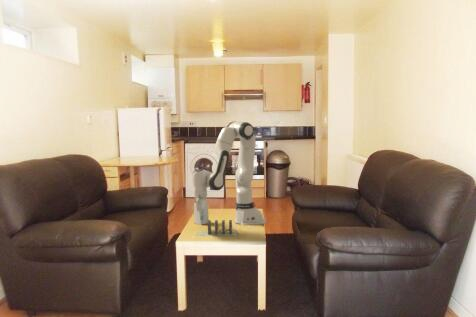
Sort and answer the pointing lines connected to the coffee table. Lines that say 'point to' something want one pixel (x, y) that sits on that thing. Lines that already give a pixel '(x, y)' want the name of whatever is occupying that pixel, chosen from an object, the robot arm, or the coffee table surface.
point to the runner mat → (214, 233)
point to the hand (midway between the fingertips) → (201, 214)
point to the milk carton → (197, 214)
